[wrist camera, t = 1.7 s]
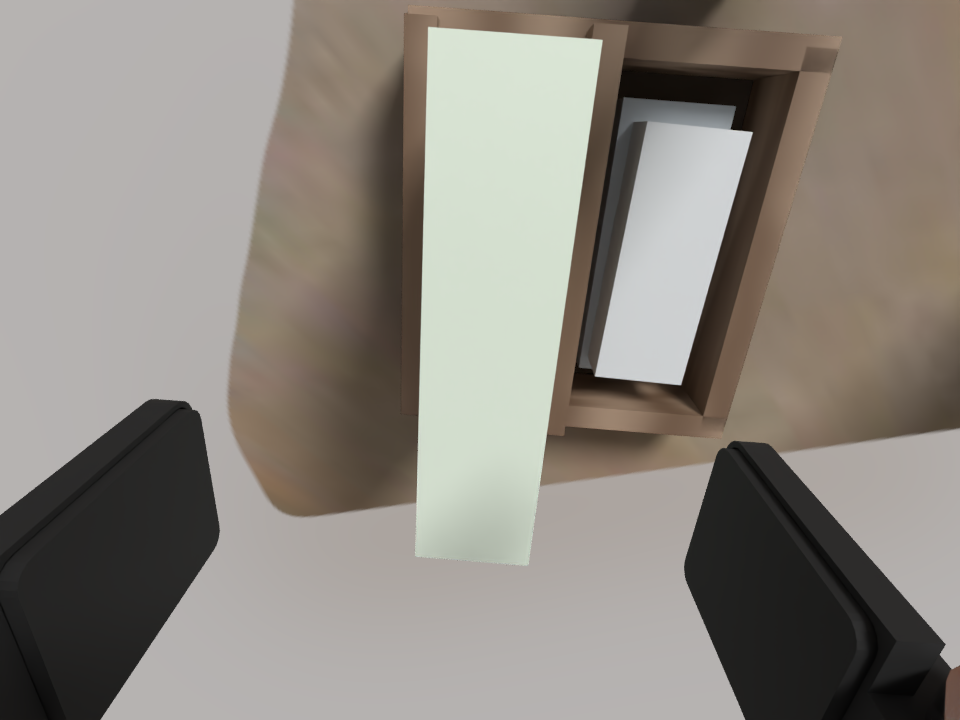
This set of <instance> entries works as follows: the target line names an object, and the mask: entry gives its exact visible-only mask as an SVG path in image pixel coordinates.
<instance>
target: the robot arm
mask: <svg viewBox="0 0 960 720" xmlns="http://www.w3.org/2000/svg"><path fill="white" fill-rule="evenodd" d="M219 532H220V530H219V521H218V515H217V509H216V504H215V498H214V492H213V486H212V480H211V474H210V468H209V463H208V457H207V451H206V445H205V439H204V433H203V427H202V421H201V417H200V414H199V413H198V411H195V410H192V408H191V406H190V405H189V403H187V402H185V401H172V400H159V399H151V400H148V401H147V402H145V403H144V404H142V405H141V406H140V407H139V408H138V409H136V410H135V411H134V412H132V413H131V414H130V415H128V416H127V417H126V418H124V419H123V420H122V421H121V422H119V423H118V424H117V425H116V426H114V427H113V428H112V429H110V430H109V431H108V432H107V433H105V434H104V435H103V436H101V437H100V438H99V439H97V440H96V441H95V442H94V443H93V444H91V445H90V446H88V447H87V448H86V449H85V450H83V451H82V452H81V453H79V454H78V455H77V456H76V457H74V458H73V459H72V460H71V461H69V462H68V463H67V464H65V465H64V466H63V467H62V468H60V469H59V470H58V471H56V472H55V473H54V474H53V475H51V476H50V477H49V478H47V479H46V480H45V481H44V482H42V483H41V484H40V485H38V486H37V487H36V488H35V489H34V490H32V491H31V492H29V493H28V494H27V495H26V496H24V497H23V498H22V499H20V500H19V501H18V502H17V503H15V504H14V505H13V506H11V507H10V508H9V509H8V510H6V511H5V512H4V513H3V514H1V515H0V720H100V719H101V718H102V717H103V715H104V713H105V712H106V711H107V709H108V708H109V706H110V704H111V703H112V702H113V700H114V699H115V697H116V696H117V694H118V693H119V691H120V690H121V688H122V687H123V685H124V683H125V682H126V681H127V679H128V678H129V676H130V675H131V673H132V672H133V670H134V669H135V667H136V666H137V664H138V663H139V661H140V660H141V658H142V657H143V655H144V654H145V652H146V651H147V649H148V648H149V646H150V645H151V643H152V642H153V640H154V639H155V637H156V635H157V634H158V633H159V631H160V630H161V628H162V627H163V625H164V624H165V622H166V621H167V619H168V618H169V616H170V615H171V613H172V612H173V610H174V609H175V607H176V606H177V604H178V603H179V601H180V600H181V598H182V597H183V595H184V594H185V592H186V591H187V589H188V588H189V586H190V585H191V583H192V582H193V580H194V579H195V577H196V576H197V574H198V572H199V571H200V570H201V568H202V567H203V565H204V564H205V562H206V561H207V559H208V558H209V556H210V555H211V553H212V552H213V550H214V549H215V546H216V545H217V542H218V538H219ZM684 571H685V578H686V581H687V584H688V586H689V589H690V591H691V594H692V596H693V598H694V601H695V603H696V605H697V608H698V610H699V612H700V615H701V617H702V619H703V621H704V624H705V626H706V628H707V631H708V633H709V635H710V638H711V640H712V643H713V645H714V647H715V650H716V652H717V654H718V657H719V659H720V661H721V664H722V666H723V668H724V670H725V673H726V675H727V678H728V680H729V682H730V685H731V687H732V689H733V692H734V694H735V696H736V699H737V701H738V703H739V706H740V708H741V710H742V713H743V715H744V717H745V720H960V666H958V667H956V668H954V669H951V668H950V667H949V666H948V664H947V663H946V662H945V661H944V660H943V658H942V657H941V656H940V653H941V651H942V650H943V648H944V646H945V643H944V642H943V641H942V640H941V639H940V637H939V636H938V635H937V634H936V633H935V632H934V631H933V629H932V628H931V627H930V626H929V625H928V624H927V623H926V622H925V620H924V619H923V618H922V617H921V616H920V615H919V614H918V613H917V611H916V610H915V609H914V608H913V607H912V606H911V605H910V603H909V602H908V601H907V600H906V599H905V598H904V597H903V595H902V594H901V593H900V592H899V591H898V590H897V589H896V588H895V586H894V585H893V584H892V583H891V582H890V581H889V580H888V578H887V577H886V576H885V575H884V574H883V573H882V572H881V571H880V569H879V568H878V567H877V566H876V565H875V564H874V563H873V561H872V560H871V559H870V558H869V557H868V556H867V555H866V553H865V552H864V551H863V550H862V549H861V548H860V547H859V546H858V544H857V543H856V542H855V541H854V540H853V539H852V538H851V536H850V535H849V534H848V533H847V532H846V531H845V530H844V528H843V527H842V526H841V525H840V524H839V523H838V522H837V520H835V518H834V517H833V516H832V515H831V514H830V513H829V512H828V510H827V509H826V508H825V507H824V506H823V505H822V504H821V502H820V501H819V500H818V499H817V498H816V497H815V495H814V494H813V493H812V492H811V491H810V490H809V489H808V488H807V486H806V485H805V484H804V483H803V482H802V481H801V480H800V479H799V477H798V476H797V475H796V474H795V473H794V472H793V471H792V470H791V468H790V467H789V466H788V465H787V464H786V463H785V462H784V460H783V459H782V458H781V457H780V456H779V455H778V453H777V452H776V451H775V450H774V449H773V448H772V447H771V446H770V445H769V444H766V443H755V442H741V441H733V442H731V443H730V444H729V445H728V447H727V448H722V449H720V450H719V452H718V454H717V456H716V459H715V463H714V466H713V469H712V472H711V476H710V479H709V483H708V486H707V489H706V492H705V496H704V499H703V502H702V506H701V509H700V512H699V516H698V519H697V522H696V526H695V529H694V532H693V536H692V539H691V542H690V546H689V549H688V552H687V556H686V559H685V565H684Z"/></svg>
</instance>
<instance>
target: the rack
mask: <svg viewBox="0 0 960 720" xmlns="http://www.w3.org/2000/svg"><path fill="white" fill-rule="evenodd" d="M428 27H436V28H450V29H463V30H477V31H490V32H504V33H517V34H531V35H544V36H558V37H571V38H585V39H598V40H603V41H602V48H601V55H600V62H599V69H598V77H597V84H596V91H595V98H594V105H593V112H592V119H591V126H590V133H589V140H588V147H587V154H586V161H585V168H584V175H583V182H582V189H581V196H580V204H579V211H578V218H577V225H576V232H575V239H574V246H573V253H572V260H571V267H570V274H569V281H568V288H567V295H566V302H565V309H564V316H563V323H562V330H561V338H560V345H559V352H558V359H557V366H556V373H555V380H554V387H553V394H552V401H551V408H550V415H549V422H548V429H547V435H558V436H564V433H565V426H569V427H581V428H593V429H606V430H618V431H630V432H643V433H655V434H668V435H680V436H692V437H705V438H717V439H721V437H722V434H723V431H724V427H725V424H726V421H727V418H728V414H729V411H730V408H731V404H732V401H733V398H734V394H735V391H736V388H737V385H738V381H739V378H740V375H741V371H742V368H743V365H744V361H745V358H746V355H747V351H748V348H749V345H750V342H751V338H752V335H753V332H754V328H755V325H756V322H757V318H758V315H759V312H760V308H761V305H762V302H763V299H764V295H765V292H766V289H767V285H768V282H769V279H770V275H771V272H772V269H773V266H774V262H775V259H776V256H777V252H778V249H779V246H780V242H781V239H782V236H783V232H784V229H785V226H786V223H787V219H788V216H789V213H790V209H791V206H792V203H793V199H794V196H795V193H796V190H797V186H798V183H799V180H800V176H801V173H802V170H803V166H804V163H805V160H806V156H807V153H808V150H809V147H810V143H811V140H812V137H813V133H814V130H815V127H816V123H817V120H818V117H819V113H820V110H821V107H822V104H823V100H824V97H825V94H826V90H827V87H828V84H829V80H830V77H831V74H832V71H833V67H834V64H835V61H836V57H837V54H838V51H839V47H840V44H841V41H842V37H838V36H825V35H811V34H798V33H784V32H770V31H757V30H743V29H730V28H716V27H702V26H689V25H675V24H661V23H648V22H634V21H621V20H607V19H593V18H580V17H566V16H552V15H539V14H525V13H512V12H498V11H484V10H471V9H457V8H444V7H430V6H416V5H408V13H404V105H403V227H402V349H401V414H405V415H417V416H419V385H420V344H421V303H422V261H423V220H424V179H425V137H426V96H427V55H428ZM622 70H623V71H637V72H650V73H664V74H677V75H690V76H704V77H717V78H731V79H744V80H754V82H753V86H752V90H751V94H750V98H749V102H748V106H747V110H746V114H745V118H744V122H743V126H742V130H741V131H746V132H753V133H752V137H751V141H750V144H749V148H748V151H747V155H746V158H745V162H744V165H743V169H742V172H741V176H740V179H739V183H738V186H737V190H736V193H735V197H734V200H733V204H732V207H731V211H730V214H729V218H728V221H727V225H726V229H725V232H724V236H723V239H722V243H721V246H720V250H719V253H718V257H717V260H716V264H715V267H714V271H713V274H712V278H711V281H710V285H709V288H708V292H707V295H706V299H705V302H704V306H703V309H702V313H701V317H700V320H699V324H698V327H697V331H696V334H695V338H694V341H693V345H692V348H691V352H690V355H689V359H688V362H687V366H686V369H685V373H684V376H683V380H682V383H681V385H673V384H664V383H654V382H644V381H635V380H625V379H615V378H606V377H596V376H595V375H594V374H582V373H574V369H575V363H576V357H577V350H578V344H579V338H580V331H581V325H582V319H583V312H584V306H585V300H586V293H587V287H588V281H589V274H590V268H591V262H592V255H593V249H594V243H595V236H596V230H597V224H598V217H599V211H600V205H601V198H602V192H603V186H604V179H605V173H606V167H607V160H608V154H609V148H610V141H611V135H612V129H613V122H614V116H615V110H616V103H617V97H618V91H619V84H620V78H621V71H622Z"/></svg>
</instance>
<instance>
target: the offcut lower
mask: <svg viewBox="0 0 960 720" xmlns="http://www.w3.org/2000/svg"><path fill="white" fill-rule="evenodd" d="M735 109H736V106H726V105H714V104H701V103H689V102H676V101H664V100H651V99H639V98H626V97H623V98H620V99H617V103H616V110H615V116H614V122H613V129H612V135H611V141H610V148H609V154H608V160H607V167H606V173H605V179H604V186H603V192H602V198H601V205H600V211H599V217H598V224H597V230H596V236H595V243H594V249H593V255H592V262H591V268H590V274H589V281H588V287H587V293H586V300H585V306H584V312H583V319H582V325H581V331H580V338H579V344H578V350H577V357H576V360H577V363H578V367H579V368H588V369H592V367H591V364H590V362H589V359H588V352H589V347H590V341H591V336H592V331H593V326H594V321H595V316H596V311H597V306H598V301H599V296H600V291H601V286H602V280H603V275H604V270H605V265H606V260H607V255H608V250H609V245H610V240H611V235H612V230H613V224H614V219H615V214H616V209H617V204H618V199H619V194H620V189H621V184H622V179H623V174H624V168H625V163H626V158H627V153H628V148H629V143H630V138H631V133H632V128H633V123H634V122H642V121H650V122H660V123H670V124H679V125H689V126H698V127H708V128H718V129H727V130H730V129H731V125H732V121H733V117H734V113H735Z"/></svg>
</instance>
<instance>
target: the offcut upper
mask: <svg viewBox="0 0 960 720" xmlns="http://www.w3.org/2000/svg"><path fill="white" fill-rule="evenodd" d="M752 133H753V132H746V131H737V130H727V129H718V128H708V127H698V126H689V125H679V124H670V123H660V122H650V121H642V122H634V123H633V128H632V133H631V138H630V143H629V148H628V153H627V158H626V163H625V168H624V174H623V179H622V184H621V189H620V194H619V199H618V204H617V209H616V214H615V219H614V224H613V230H612V235H611V240H610V245H609V250H608V255H607V260H606V265H605V270H604V275H603V280H602V286H601V291H600V296H599V301H598V306H597V311H596V316H595V321H594V326H593V331H592V336H591V341H590V347H589V352H588V359H589V362H590V364H591V367H592V370H593V372H594V375H595V376H596V377H606V378H615V379H625V380H635V381H644V382H654V383H664V384H673V385H681V383H682V380H683V376H684V373H685V369H686V366H687V362H688V359H689V355H690V352H691V348H692V345H693V341H694V338H695V334H696V331H697V327H698V324H699V320H700V317H701V313H702V309H703V306H704V302H705V299H706V295H707V292H708V288H709V285H710V281H711V278H712V274H713V271H714V267H715V264H716V260H717V257H718V253H719V250H720V246H721V243H722V239H723V236H724V232H725V229H726V225H727V221H728V218H729V214H730V211H731V207H732V204H733V200H734V197H735V193H736V190H737V186H738V183H739V179H740V176H741V172H742V169H743V165H744V162H745V158H746V155H747V151H748V148H749V144H750V141H751V137H752Z"/></svg>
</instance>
